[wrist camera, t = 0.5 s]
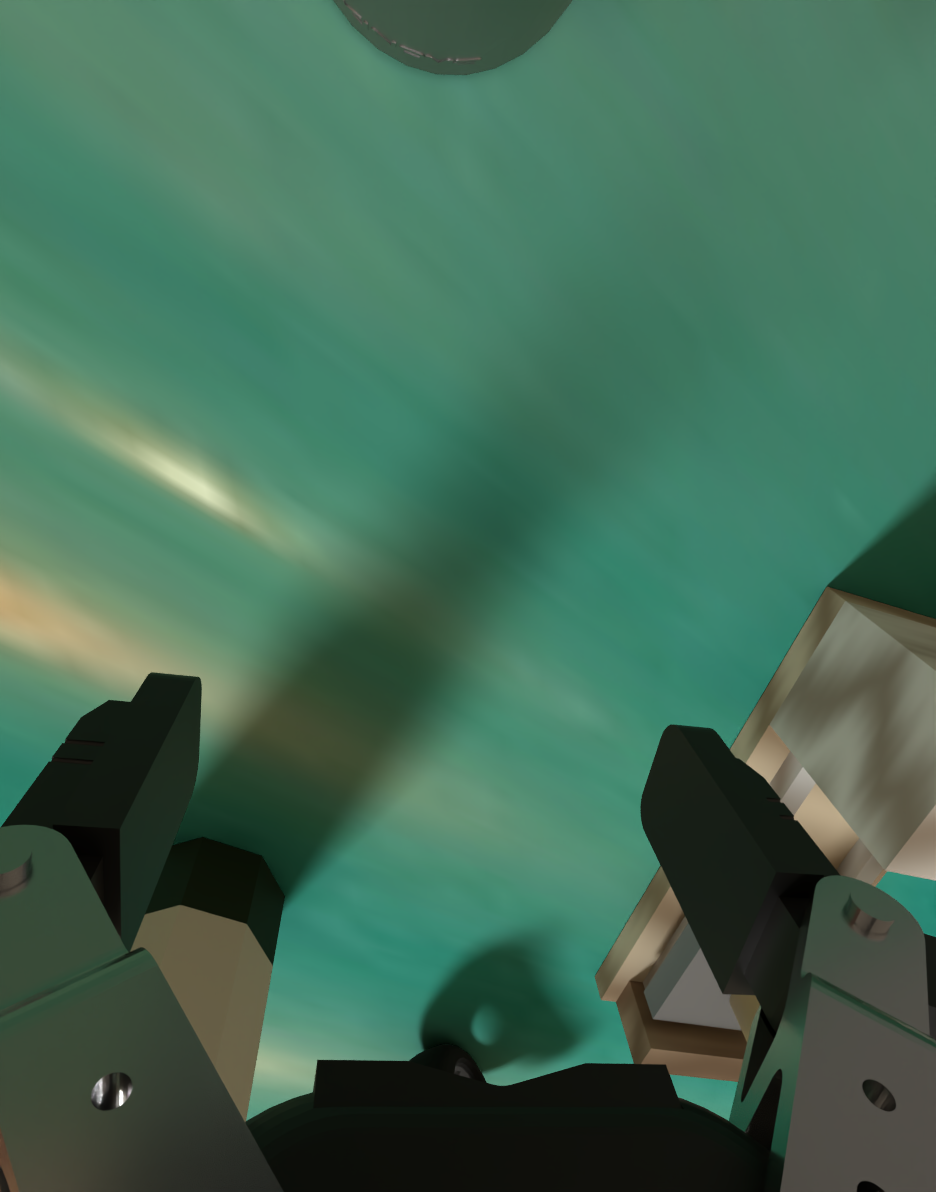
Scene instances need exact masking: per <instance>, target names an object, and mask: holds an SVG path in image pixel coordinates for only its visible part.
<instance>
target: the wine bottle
mask: <svg viewBox="0 0 936 1192" xmlns="http://www.w3.org/2000/svg"><path fill="white" fill-rule="evenodd" d="M284 898H285V896H284V894H283V892H282V891H281V889H280V887H279V885H278V884H277V882H276V880H275V878H274V876H273V875H272V873H271V871H270V869H269V868H268V866H267V864H266V862H265V861H264V859H263V857H262V856H260V855H257V854H254V853H251V852H248V851H244V850H241V849H238V848H235V847H232V846H229V845H226V844H223V843H220V842H216V841H213V840H210V839H207V838H204V837H202V838H198V839H194V840H191V841H187V842H184V843H180V844H176V845H173V846H172V847H171V850H170V852H169V855H168V857H167V860H166V862H165V865H164V867H163V870H162V872H161V875H160V877H159V880H158V882H157V885H156V887H155V890H154V893H153V895H152V898H151V900H150V903H149V905H148V908H147V910H146V913H145V915H144V918H143V920H142V923H141V925H140V928H139V931H138V933H137V936H136V938H135V941H134V943H133V946H132V948H131V951H133V950H135V949H137V948H140V947H143V948H145V949H146V950H147V951H148V952H149V953H150V954H151V955H152V956H153V958H154V959H155V961H156V963H157V964H158V966H159V968H160V970H161V971H162V973H163V975H164V977H165V979H166V980H167V982H168V984H169V986H170V988H171V990H172V991H173V993H174V995H175V997H176V999H177V1000H178V1002H179V1004H180V1006H181V1008H182V1009H183V1011H184V1013H185V1015H186V1017H187V1018H188V1020H189V1022H190V1024H191V1026H192V1027H193V1029H194V1031H195V1033H196V1035H197V1036H198V1038H199V1040H200V1042H201V1044H202V1045H203V1047H204V1049H205V1051H206V1053H207V1054H208V1056H209V1058H210V1060H211V1062H212V1063H213V1065H214V1067H215V1069H216V1071H217V1073H218V1074H219V1076H220V1078H221V1080H222V1082H223V1083H224V1085H225V1087H226V1089H227V1091H228V1092H229V1094H230V1096H231V1098H232V1100H233V1101H234V1103H235V1105H236V1107H237V1109H238V1110H239V1112H240V1114H241V1116H242V1118H243V1119H244V1121H245V1122H246V1117H247V1112H248V1106H249V1100H250V1094H251V1088H252V1083H253V1077H254V1071H255V1065H256V1060H257V1054H258V1048H259V1042H260V1037H261V1031H262V1025H263V1019H264V1013H265V1008H266V1002H267V996H268V990H269V985H270V979H271V973H272V967H273V962H274V956H275V950H276V944H277V938H278V933H279V927H280V921H281V915H282V910H283V904H284ZM131 951H130V952H131Z"/></svg>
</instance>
